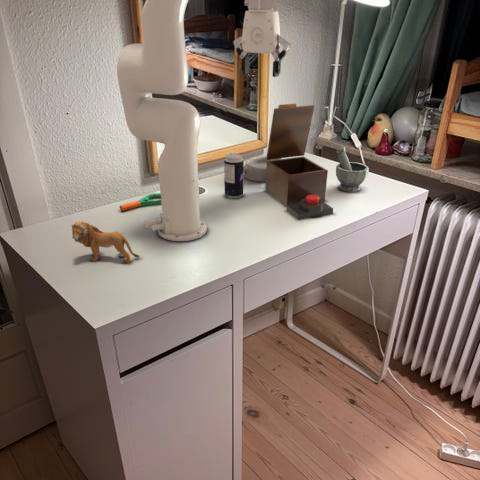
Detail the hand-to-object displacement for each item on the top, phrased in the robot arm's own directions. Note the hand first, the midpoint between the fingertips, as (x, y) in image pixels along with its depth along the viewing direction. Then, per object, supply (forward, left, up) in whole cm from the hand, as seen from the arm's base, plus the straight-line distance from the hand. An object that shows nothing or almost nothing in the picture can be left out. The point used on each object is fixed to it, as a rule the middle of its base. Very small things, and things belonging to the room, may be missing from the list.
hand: (260, 75), depth 141 cm
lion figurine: (-55, -37, -31) cm, 74 cm away
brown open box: (+5, -17, -31) cm, 36 cm away
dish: (+4, +3, -31) cm, 32 cm away
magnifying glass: (-39, -7, -31) cm, 51 cm away
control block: (+3, -30, -31) cm, 43 cm away
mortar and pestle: (+24, -17, -31) cm, 43 cm away
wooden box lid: (+5, -12, -14) cm, 19 cm away
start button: (+3, -31, -28) cm, 42 cm away
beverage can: (-12, -10, -31) cm, 35 cm away
